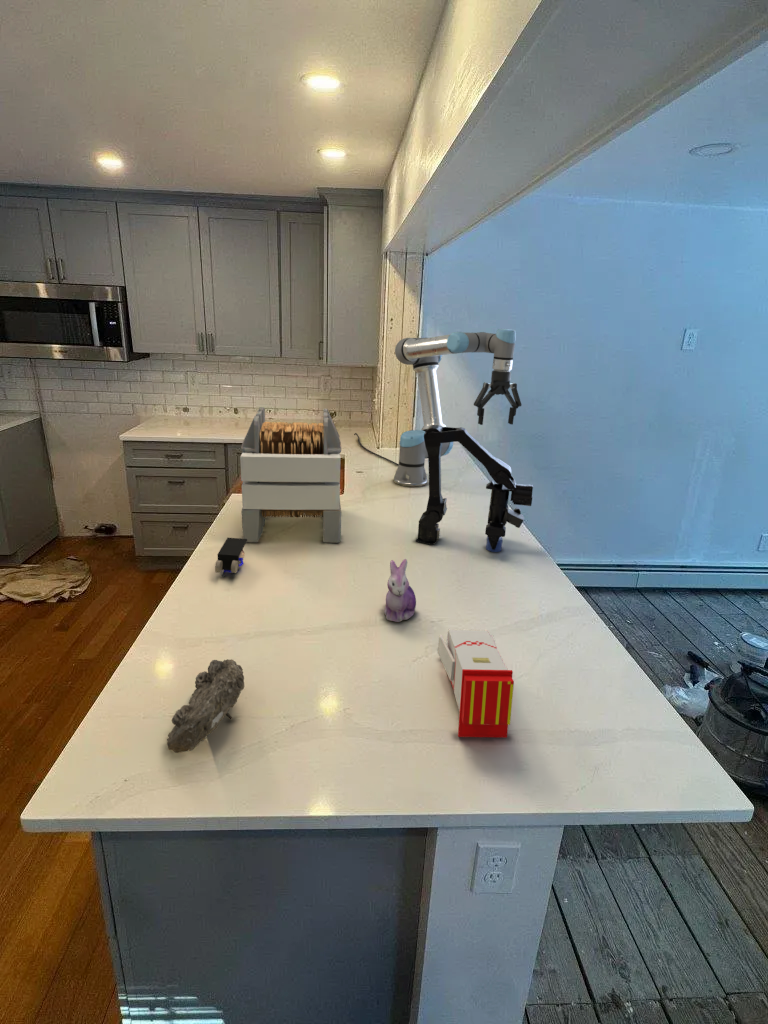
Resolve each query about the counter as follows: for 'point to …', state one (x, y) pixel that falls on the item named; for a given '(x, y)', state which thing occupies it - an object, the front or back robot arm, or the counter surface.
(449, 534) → the counter surface
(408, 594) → the figurine
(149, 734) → the counter surface
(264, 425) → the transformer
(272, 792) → the counter surface
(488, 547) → the cylinder
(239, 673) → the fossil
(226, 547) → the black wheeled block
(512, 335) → the back robot arm
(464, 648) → the toy
